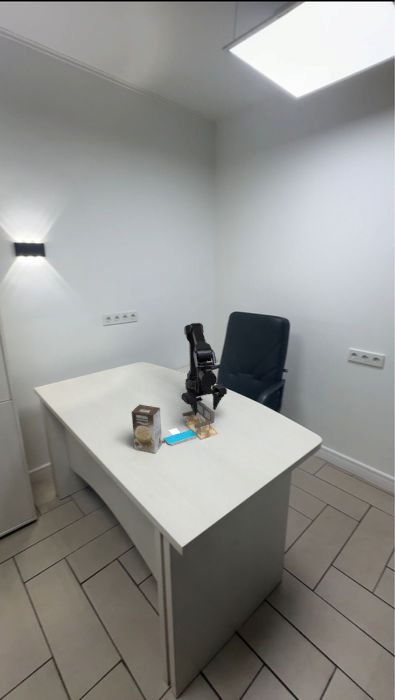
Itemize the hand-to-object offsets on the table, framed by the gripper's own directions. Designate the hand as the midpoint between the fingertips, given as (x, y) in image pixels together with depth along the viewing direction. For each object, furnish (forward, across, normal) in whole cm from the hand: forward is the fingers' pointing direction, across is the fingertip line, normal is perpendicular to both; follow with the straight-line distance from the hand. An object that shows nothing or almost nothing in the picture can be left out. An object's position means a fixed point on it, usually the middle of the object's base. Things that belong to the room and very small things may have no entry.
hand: (204, 412), depth 129 cm
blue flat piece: (+8, +13, 0) cm, 15 cm away
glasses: (+2, +3, 0) cm, 4 cm away
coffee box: (+7, +26, +1) cm, 27 cm away
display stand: (+7, +2, 0) cm, 8 cm away
